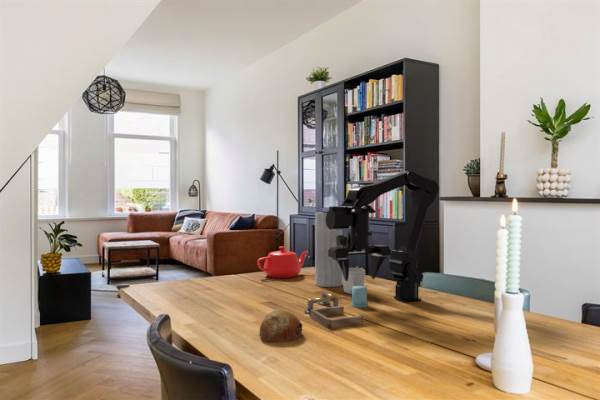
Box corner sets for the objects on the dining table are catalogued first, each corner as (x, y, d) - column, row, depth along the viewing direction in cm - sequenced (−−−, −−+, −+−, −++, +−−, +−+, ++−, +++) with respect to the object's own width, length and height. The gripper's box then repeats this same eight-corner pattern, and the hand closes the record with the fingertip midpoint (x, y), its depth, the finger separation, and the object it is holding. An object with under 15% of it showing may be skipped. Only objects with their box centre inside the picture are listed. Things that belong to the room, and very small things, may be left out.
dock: (341, 313, 129) (341, 306, 129) (363, 324, 118) (363, 316, 118) (309, 316, 125) (309, 309, 125) (328, 328, 114) (328, 320, 114)
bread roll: (266, 344, 113) (252, 316, 113) (304, 326, 114) (290, 297, 113) (267, 359, 103) (252, 327, 103) (308, 338, 104) (293, 307, 103)
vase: (324, 281, 176) (324, 211, 176) (347, 284, 170) (347, 211, 170) (310, 285, 168) (310, 212, 168) (333, 288, 162) (333, 212, 162)
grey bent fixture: (326, 301, 142) (326, 289, 142) (344, 310, 132) (344, 297, 131) (292, 305, 138) (292, 292, 138) (307, 314, 127) (307, 301, 127)
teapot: (267, 282, 175) (267, 250, 175) (248, 276, 188) (248, 246, 187) (319, 275, 189) (319, 246, 189) (298, 270, 202) (298, 243, 202)
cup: (364, 297, 148) (364, 273, 148) (339, 296, 149) (339, 272, 149) (365, 291, 158) (366, 268, 158) (343, 290, 160) (343, 267, 160)
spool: (362, 303, 141) (362, 285, 141) (370, 306, 136) (370, 288, 136) (348, 304, 139) (348, 286, 139) (356, 308, 134) (356, 289, 134)
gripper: (372, 225, 148) (372, 273, 149) (320, 227, 141) (320, 277, 142) (391, 228, 138) (391, 279, 138) (336, 230, 131) (336, 284, 131)
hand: (359, 279), depth 138 cm, fingers open, 9 cm apart
